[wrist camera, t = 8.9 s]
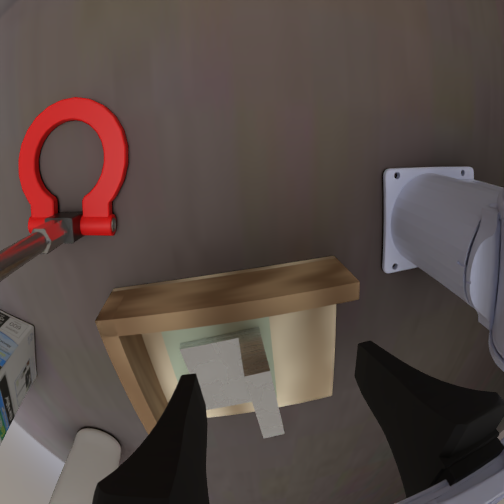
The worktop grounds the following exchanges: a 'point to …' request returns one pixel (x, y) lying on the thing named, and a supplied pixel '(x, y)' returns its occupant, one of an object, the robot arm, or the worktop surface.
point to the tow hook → (45, 204)
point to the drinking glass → (86, 466)
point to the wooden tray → (207, 315)
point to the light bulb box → (14, 366)
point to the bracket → (235, 375)
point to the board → (275, 344)
